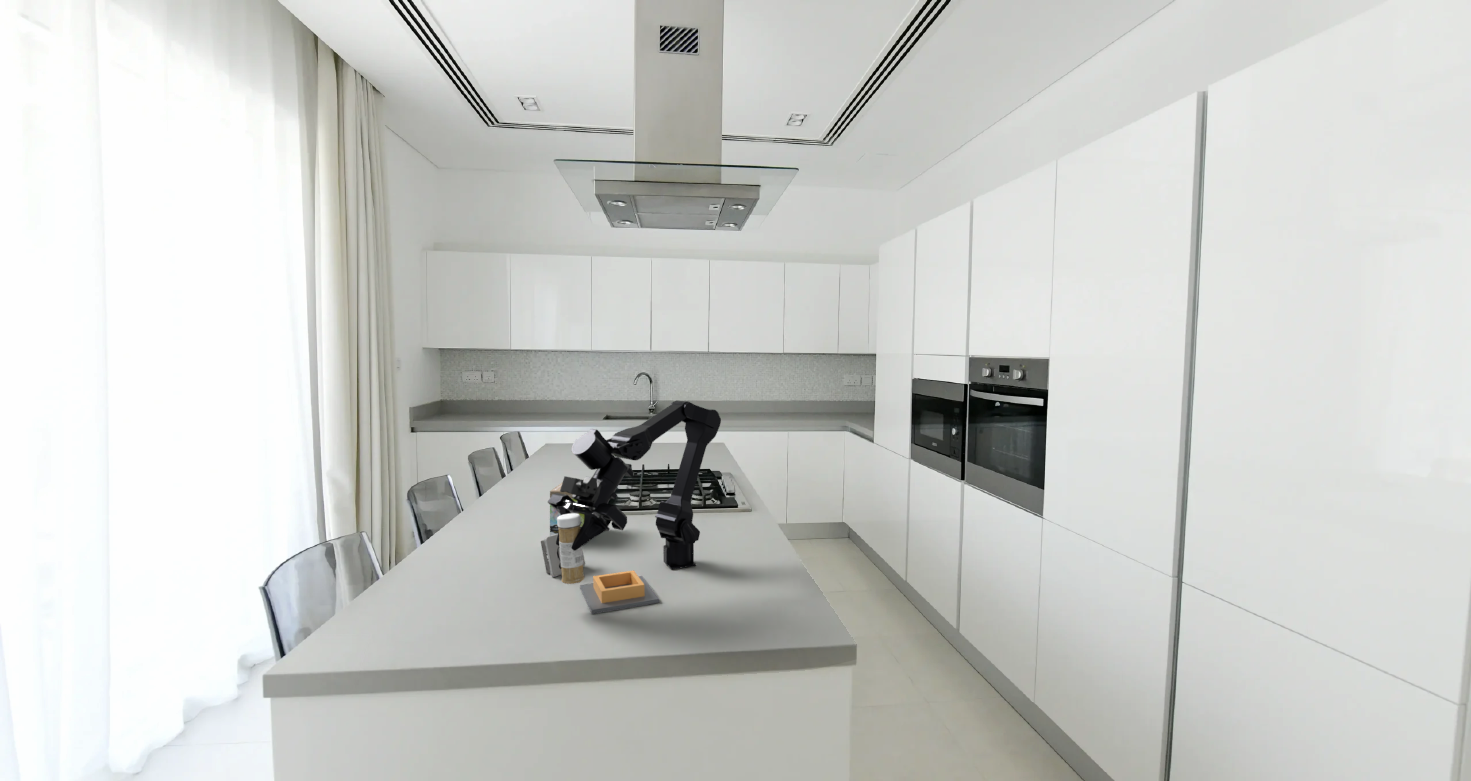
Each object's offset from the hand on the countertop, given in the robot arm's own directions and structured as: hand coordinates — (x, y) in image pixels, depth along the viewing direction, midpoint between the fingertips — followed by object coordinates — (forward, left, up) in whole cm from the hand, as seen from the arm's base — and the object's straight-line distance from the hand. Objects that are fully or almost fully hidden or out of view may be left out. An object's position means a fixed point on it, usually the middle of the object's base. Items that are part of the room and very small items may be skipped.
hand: (565, 547), depth 126 cm
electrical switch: (-2, -23, -13) cm, 27 cm away
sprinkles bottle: (-1, 0, -7) cm, 8 cm away
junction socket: (-11, -3, -13) cm, 18 cm away
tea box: (-9, -48, -13) cm, 51 cm away
